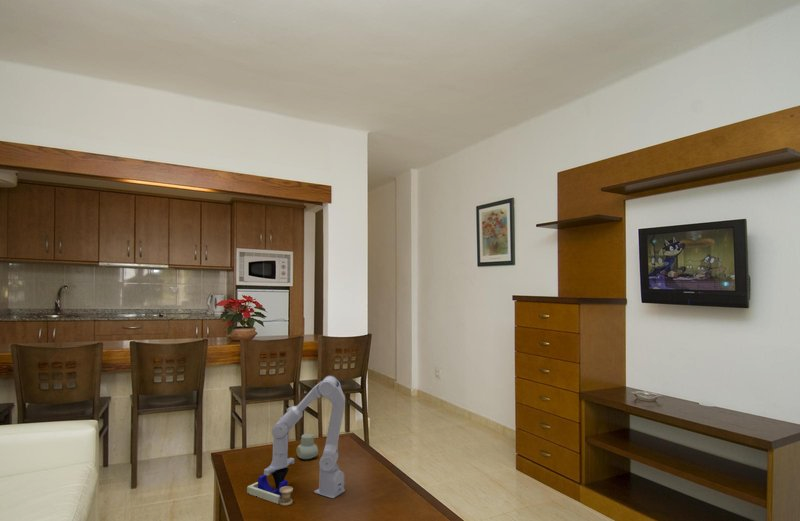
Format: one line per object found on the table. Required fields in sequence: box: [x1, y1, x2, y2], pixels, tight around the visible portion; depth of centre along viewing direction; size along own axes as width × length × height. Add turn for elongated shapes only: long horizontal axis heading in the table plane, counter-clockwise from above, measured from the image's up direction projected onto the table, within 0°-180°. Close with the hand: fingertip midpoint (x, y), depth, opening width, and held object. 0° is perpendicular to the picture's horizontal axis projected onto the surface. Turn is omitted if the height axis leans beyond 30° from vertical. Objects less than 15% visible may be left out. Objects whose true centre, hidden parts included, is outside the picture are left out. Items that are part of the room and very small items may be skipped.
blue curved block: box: [257, 474, 289, 499], centre depth 178 cm, size 12×4×6 cm, turn 64°
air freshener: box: [296, 433, 319, 460], centre depth 216 cm, size 11×8×10 cm
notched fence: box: [246, 481, 281, 505], centre depth 176 cm, size 16×7×2 cm, turn 60°
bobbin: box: [278, 485, 294, 507], centre depth 171 cm, size 5×5×5 cm
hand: (278, 487), depth 181 cm, fingers closed
